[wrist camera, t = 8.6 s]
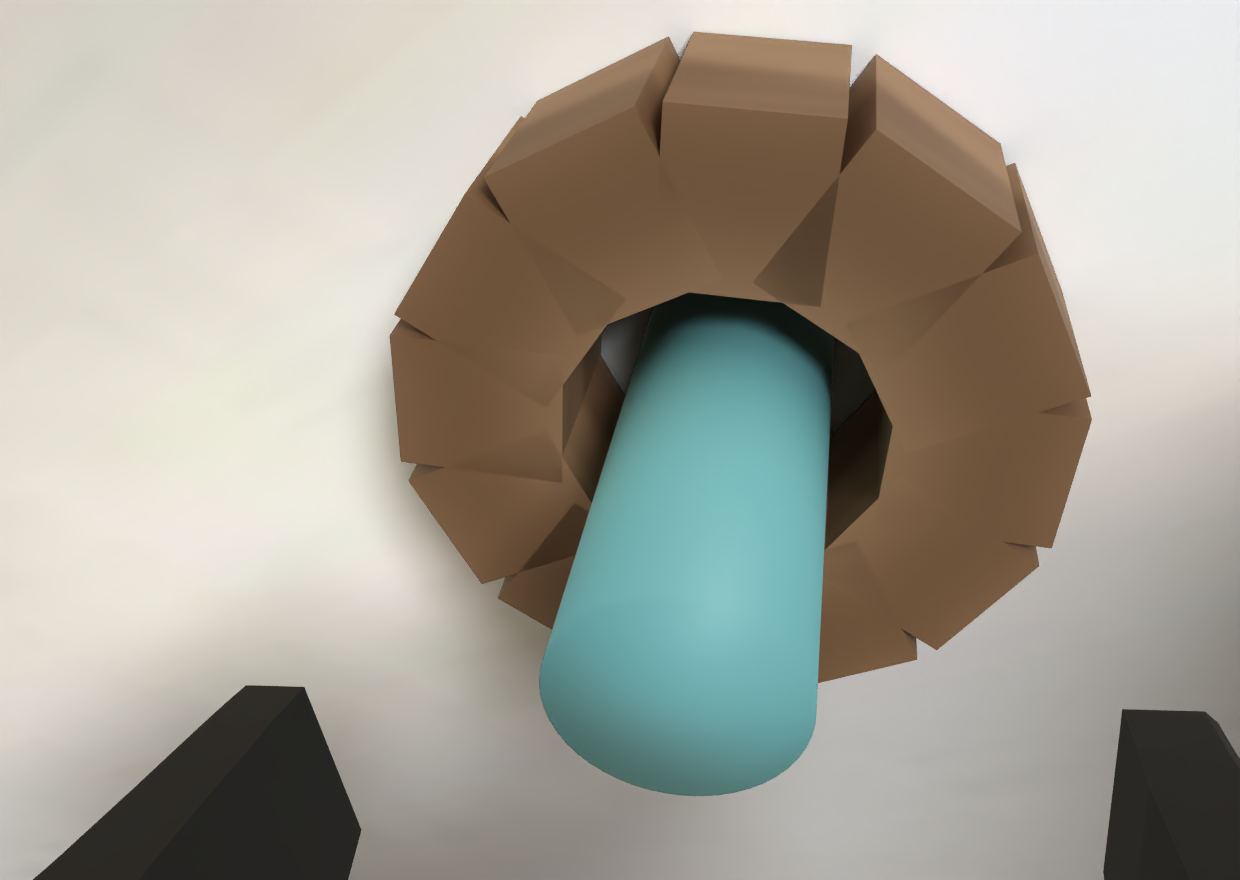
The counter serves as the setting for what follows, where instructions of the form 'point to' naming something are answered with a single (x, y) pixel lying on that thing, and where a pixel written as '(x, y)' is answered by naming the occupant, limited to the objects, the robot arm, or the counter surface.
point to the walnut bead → (760, 270)
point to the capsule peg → (702, 557)
